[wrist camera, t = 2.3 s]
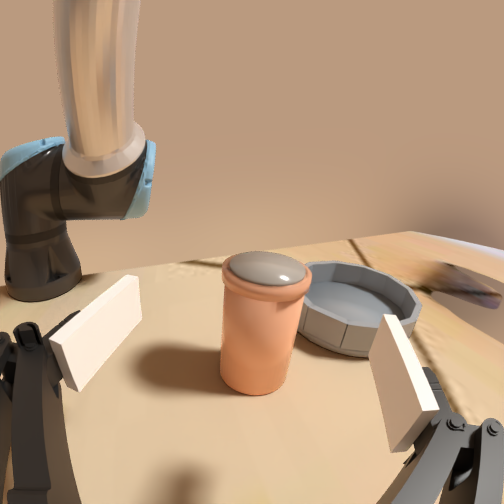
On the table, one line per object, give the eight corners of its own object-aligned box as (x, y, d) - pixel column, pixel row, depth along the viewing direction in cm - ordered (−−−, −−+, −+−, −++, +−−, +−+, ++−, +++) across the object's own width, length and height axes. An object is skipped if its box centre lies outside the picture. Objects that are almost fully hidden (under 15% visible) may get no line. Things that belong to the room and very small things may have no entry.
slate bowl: (265, 289, 46) (268, 264, 44) (359, 280, 53) (364, 258, 51) (330, 373, 29) (341, 342, 27) (433, 336, 35) (444, 311, 34)
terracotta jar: (210, 353, 30) (213, 250, 26) (272, 344, 33) (288, 248, 29) (228, 403, 24) (237, 290, 19) (300, 388, 26) (329, 282, 22)
